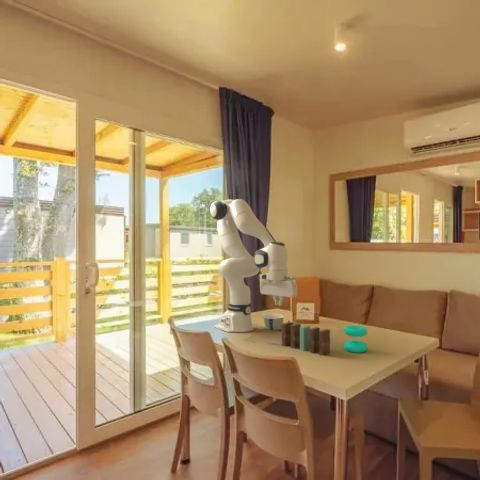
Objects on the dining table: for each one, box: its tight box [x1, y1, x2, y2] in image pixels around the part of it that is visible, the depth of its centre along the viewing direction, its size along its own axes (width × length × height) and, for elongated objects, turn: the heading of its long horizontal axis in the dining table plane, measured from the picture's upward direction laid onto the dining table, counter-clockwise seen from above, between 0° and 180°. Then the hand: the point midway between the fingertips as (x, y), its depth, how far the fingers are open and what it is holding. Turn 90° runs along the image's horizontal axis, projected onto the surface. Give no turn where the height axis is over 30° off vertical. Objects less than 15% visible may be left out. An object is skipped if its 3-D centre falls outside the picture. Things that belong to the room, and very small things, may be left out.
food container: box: [262, 313, 285, 331], centre depth 204 cm, size 12×12×6 cm
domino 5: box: [319, 328, 331, 356], centre depth 157 cm, size 2×5×10 cm, turn 136°
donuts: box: [343, 324, 369, 354], centre depth 162 cm, size 10×10×10 cm
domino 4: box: [309, 326, 321, 354], centre depth 161 cm, size 2×5×10 cm, turn 136°
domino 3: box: [299, 324, 311, 352], centre depth 164 cm, size 2×5×10 cm, turn 136°
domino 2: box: [290, 323, 302, 349], centre depth 168 cm, size 2×5×10 cm, turn 136°
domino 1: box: [281, 321, 292, 347], centre depth 171 cm, size 2×5×10 cm, turn 136°
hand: (278, 305), depth 174 cm, fingers closed
